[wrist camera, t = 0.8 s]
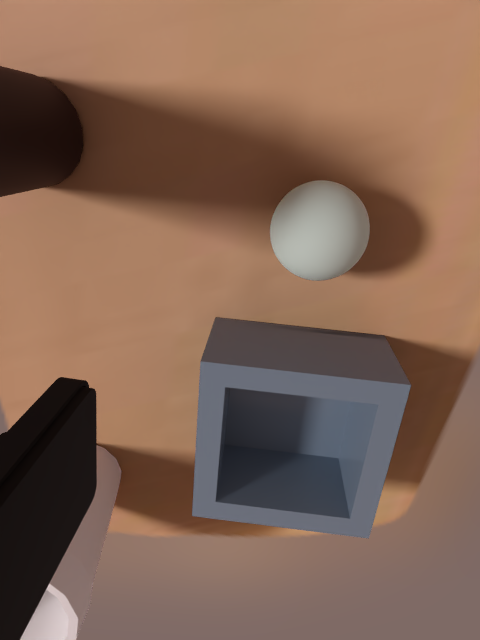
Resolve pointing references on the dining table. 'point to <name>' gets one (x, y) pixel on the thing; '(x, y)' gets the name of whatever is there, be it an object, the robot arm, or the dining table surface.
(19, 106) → the bottle
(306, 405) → the blue-grey open box
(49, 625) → the foam cup
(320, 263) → the ball
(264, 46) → the dining table surface
